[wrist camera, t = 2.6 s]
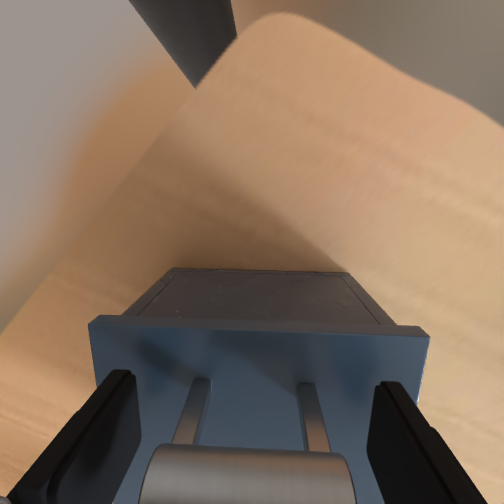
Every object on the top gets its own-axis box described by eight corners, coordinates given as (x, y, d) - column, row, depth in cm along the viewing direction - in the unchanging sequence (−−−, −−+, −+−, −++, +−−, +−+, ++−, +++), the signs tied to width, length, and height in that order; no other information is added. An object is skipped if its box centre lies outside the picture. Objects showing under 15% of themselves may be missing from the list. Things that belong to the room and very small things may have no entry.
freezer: (171, 267, 20) (102, 331, 11) (349, 272, 19) (415, 343, 11) (181, 441, 24) (135, 586, 15) (330, 448, 23) (368, 603, 15)
